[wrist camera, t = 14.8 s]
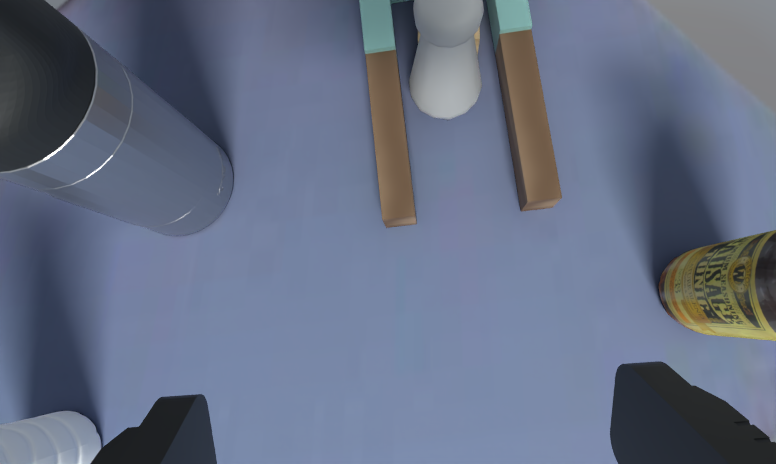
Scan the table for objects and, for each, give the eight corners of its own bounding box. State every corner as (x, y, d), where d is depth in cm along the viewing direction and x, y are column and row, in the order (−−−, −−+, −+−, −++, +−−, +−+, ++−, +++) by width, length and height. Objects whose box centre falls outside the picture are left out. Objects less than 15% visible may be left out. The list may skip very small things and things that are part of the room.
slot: (386, 227, 40) (382, 219, 37) (370, 72, 42) (365, 54, 40) (552, 207, 39) (561, 197, 36) (524, 50, 41) (531, 29, 39)
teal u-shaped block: (370, 72, 42) (364, 50, 39) (361, -12, 44) (355, -40, 41) (524, 50, 41) (532, 25, 38) (509, -35, 43) (515, -67, 40)
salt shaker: (398, 109, 42) (380, 12, 29) (432, 55, 42) (431, -62, 30) (457, 141, 40) (466, 55, 28) (492, 86, 41) (516, -22, 28)
